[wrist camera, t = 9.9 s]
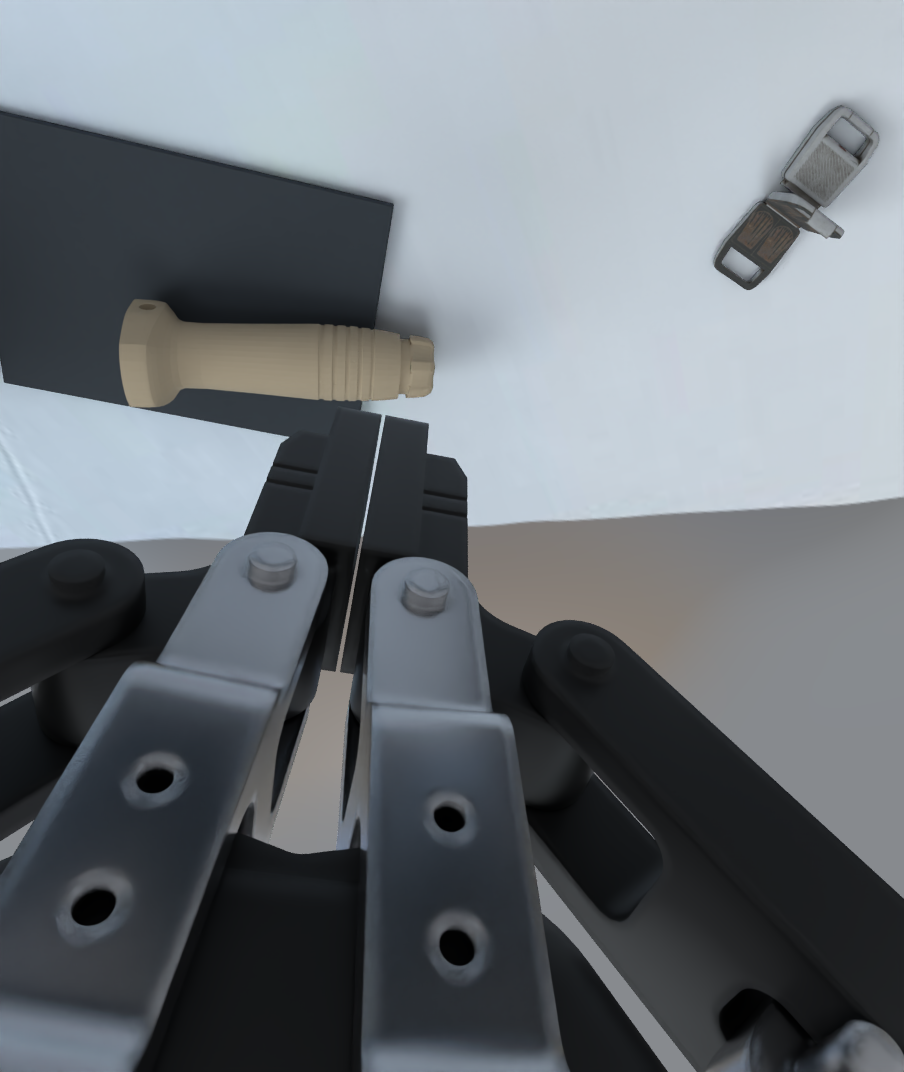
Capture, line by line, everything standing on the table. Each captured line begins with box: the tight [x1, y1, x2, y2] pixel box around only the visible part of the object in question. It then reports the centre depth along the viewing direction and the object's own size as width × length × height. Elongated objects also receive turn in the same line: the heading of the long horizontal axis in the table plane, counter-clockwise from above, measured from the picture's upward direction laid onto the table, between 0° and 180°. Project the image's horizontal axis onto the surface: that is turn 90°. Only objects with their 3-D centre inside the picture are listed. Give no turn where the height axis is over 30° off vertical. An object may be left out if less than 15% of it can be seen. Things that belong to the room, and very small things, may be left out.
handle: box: [119, 299, 435, 407], centre depth 38 cm, size 5×6×15 cm
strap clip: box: [714, 106, 879, 290], centre depth 34 cm, size 8×3×4 cm, turn 149°
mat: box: [0, 111, 394, 437], centre depth 39 cm, size 20×14×1 cm
